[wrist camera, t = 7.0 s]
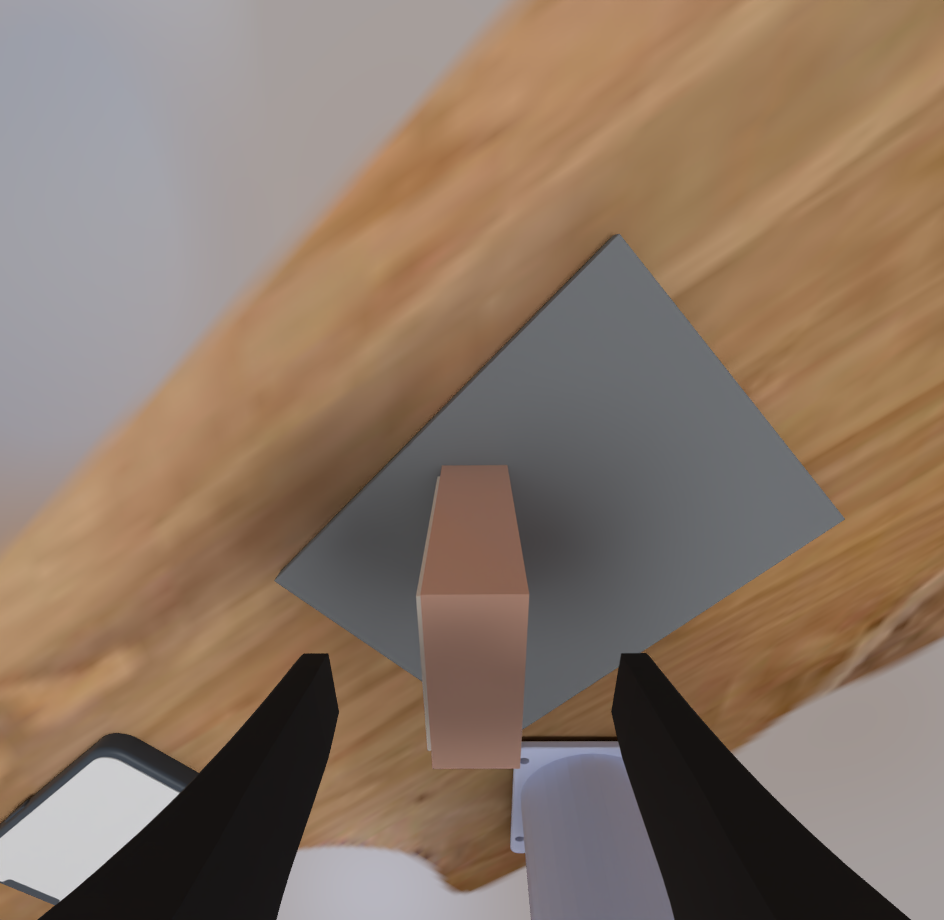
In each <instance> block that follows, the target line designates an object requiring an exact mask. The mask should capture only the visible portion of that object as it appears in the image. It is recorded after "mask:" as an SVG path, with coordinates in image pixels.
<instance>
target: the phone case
mask: <svg viewBox="0 0 944 920" xmlns="http://www.w3.org/2000/svg"><path fill="white" fill-rule="evenodd" d="M198 774H199V773H198V772H196V771H194V770H192V769H191V768H189V767H187V766H185V765H184V764H182V763H180V762H178V761H177V760H175V759H173V758H171V757H170V756H168V755H166V754H164V753H162V752H161V751H159V750H157V749H155V748H154V747H152V746H150V745H148V744H147V743H145V742H143V741H141V740H140V739H138V738H136V737H133V736H131V735H127V734H121V733H113V734H108V735H106V736H104V737H103V738H101V739H100V740H99V741H98V742H97V743H95V744H94V745H93V746H92V747H91V748H89V749H88V750H87V751H86V752H85V753H83V754H82V755H81V756H80V757H79V758H78V759H76V760H75V761H74V762H73V763H72V764H70V765H69V766H68V767H67V768H66V769H64V770H63V771H62V772H61V773H60V774H58V775H57V776H56V777H55V778H54V779H53V780H51V781H50V782H49V783H48V784H47V785H46V786H44V787H43V788H42V789H41V790H40V791H38V792H37V793H36V794H35V795H34V796H33V797H31V798H30V799H27V800H26V801H25V802H24V803H23V804H21V805H20V806H19V807H18V808H17V809H16V810H14V811H13V812H12V813H11V814H10V815H9V817H8V818H7V819H5V820H4V821H3V822H2V823H1V824H0V883H2V884H5V885H7V886H9V887H12V888H14V889H17V890H19V891H22V892H24V893H26V894H29V895H31V896H34V897H36V898H39V899H41V900H43V901H46V902H48V903H51V904H53V905H56V904H57V903H59V902H60V901H61V900H62V899H64V898H65V897H66V896H67V895H68V894H70V893H71V892H72V891H73V890H74V889H76V888H77V887H78V886H79V885H80V884H81V883H83V882H84V881H85V880H86V879H87V878H88V877H90V876H91V875H92V874H93V873H94V872H95V871H97V870H98V869H99V868H100V867H101V866H102V865H103V864H104V863H106V862H107V861H108V860H109V859H110V858H111V857H112V856H113V855H114V854H116V853H117V852H118V851H119V850H120V849H121V848H122V847H123V846H124V845H126V844H127V843H128V842H129V841H130V840H131V839H132V838H133V837H134V836H136V835H137V834H138V833H139V832H140V831H141V830H142V829H143V828H144V827H145V826H146V825H147V824H148V823H149V822H150V821H152V820H153V819H154V818H155V817H156V816H157V815H158V814H159V813H160V812H161V811H162V810H163V809H164V808H165V807H166V806H167V805H168V804H169V803H170V802H171V801H172V800H173V799H174V798H175V797H176V796H177V795H178V794H179V793H180V792H181V791H182V790H183V789H184V788H185V787H186V786H187V785H188V784H189V783H190V782H191V781H192V780H193V779H194V778H195V777H196V776H197V775H198Z"/></svg>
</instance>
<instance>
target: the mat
mask: <svg viewBox="0 0 944 920" xmlns="http://www.w3.org/2000/svg"><path fill="white" fill-rule="evenodd" d="M442 465H507V466H508V472H509V478H510V484H511V489H512V495H513V501H514V507H515V513H516V519H517V525H518V531H519V537H520V542H521V548H522V554H523V560H524V566H525V572H526V578H527V584H528V590H529V609H528V628H527V647H526V666H525V685H524V704H523V723H522V730H523V729H524V728H526V727H527V726H529V725H530V724H532V723H533V722H535V721H536V720H538V719H539V718H541V717H543V716H544V715H546V714H547V713H549V712H550V711H552V710H553V709H555V708H556V707H558V706H559V705H561V704H562V703H564V702H566V701H567V700H569V699H570V698H572V697H573V696H575V695H576V694H578V693H579V692H581V691H582V690H584V689H585V688H587V687H589V686H590V685H592V684H593V683H595V682H596V681H598V680H599V679H601V678H602V677H604V676H605V675H607V674H608V673H610V672H612V671H613V670H615V669H616V668H618V667H619V663H620V657H621V653H641V652H642V651H644V650H645V649H647V648H648V647H650V646H651V645H653V644H654V643H656V642H658V641H659V640H661V639H662V638H664V637H665V636H667V635H668V634H670V633H671V632H673V631H674V630H676V629H677V628H679V627H681V626H682V625H684V624H685V623H687V622H688V621H690V620H691V619H693V618H694V617H696V616H697V615H699V614H700V613H702V612H704V611H705V610H707V609H708V608H710V607H711V606H713V605H714V604H716V603H717V602H719V601H720V600H722V599H723V598H725V597H727V596H728V595H730V594H731V593H733V592H734V591H736V590H737V589H739V588H740V587H742V586H743V585H745V584H746V583H748V582H749V581H751V580H753V579H754V578H756V577H757V576H759V575H760V574H762V573H763V572H765V571H766V570H768V569H769V568H771V567H772V566H774V565H776V564H777V563H779V562H780V561H782V560H783V559H785V558H786V557H788V556H789V555H791V554H792V553H794V552H795V551H797V550H799V549H800V548H802V547H803V546H805V545H806V544H808V543H809V542H811V541H812V540H814V539H815V538H817V537H818V536H820V535H822V534H823V533H825V532H826V531H828V530H829V529H831V528H832V527H834V526H835V525H837V524H838V523H840V522H841V521H843V520H845V518H844V517H843V516H842V515H841V513H840V512H839V511H838V510H837V508H836V507H835V506H834V505H833V503H832V502H831V501H830V500H829V498H828V497H827V496H826V494H825V493H824V492H823V491H822V489H821V488H820V487H819V486H818V484H817V483H816V482H815V481H814V479H813V478H812V477H811V475H810V474H809V473H808V472H807V470H806V469H805V468H804V467H803V465H802V464H801V463H800V462H799V460H798V459H797V458H796V457H795V455H794V454H793V453H792V451H791V450H790V449H789V448H788V446H787V445H786V444H785V443H784V441H783V440H782V439H781V438H780V436H779V435H778V434H777V432H776V431H775V430H774V429H773V427H772V426H771V425H770V424H769V422H768V421H767V420H766V419H765V417H764V416H763V415H762V414H761V412H760V411H759V410H758V408H757V407H756V406H755V405H754V403H753V402H752V401H751V400H750V398H749V397H748V396H747V395H746V393H745V392H744V391H743V389H742V388H741V387H740V386H739V384H738V383H737V382H736V381H735V379H734V378H733V377H732V376H731V374H730V373H729V372H728V371H727V369H726V368H725V367H724V365H723V364H722V363H721V362H720V360H719V359H718V358H717V357H716V355H715V354H714V353H713V352H712V350H711V349H710V348H709V347H708V345H707V344H706V343H705V341H704V340H703V339H702V338H701V336H700V335H699V334H698V333H697V331H696V330H695V329H694V328H693V326H692V325H691V324H690V322H689V321H688V320H687V319H686V317H685V316H684V315H683V314H682V312H681V311H680V310H679V309H678V307H677V306H676V305H675V304H674V302H673V301H672V300H671V298H670V297H669V296H668V295H667V293H666V292H665V291H664V290H663V288H662V287H661V286H660V285H659V283H658V282H657V281H656V279H655V278H654V277H653V276H652V274H651V273H650V272H649V271H648V269H647V268H646V267H645V266H644V264H643V263H642V262H641V261H640V259H639V258H638V257H637V255H636V254H635V253H634V252H633V250H632V249H631V248H630V247H629V245H628V244H627V243H626V242H625V240H624V239H623V238H622V236H621V235H620V234H616V235H613V236H612V237H611V238H610V239H609V240H608V241H607V242H606V243H605V244H604V245H603V246H602V247H601V248H600V249H599V250H598V251H597V252H596V253H595V254H594V255H593V256H592V257H591V258H590V259H589V260H588V261H587V263H586V264H585V265H584V266H583V267H582V268H581V269H580V270H579V271H578V272H577V273H576V274H575V275H574V276H573V277H572V278H571V279H570V280H569V281H568V282H567V283H566V284H565V285H564V286H563V287H562V288H561V289H560V290H559V291H558V292H557V293H556V294H555V295H554V296H553V297H552V298H551V299H550V300H549V301H548V302H547V303H546V304H545V305H544V306H543V307H542V308H541V309H540V310H539V311H538V312H537V313H536V314H535V315H534V316H533V317H532V318H531V319H530V320H529V321H528V322H527V323H526V324H525V325H524V326H523V327H522V328H521V329H520V330H519V331H518V332H517V333H516V334H515V335H514V336H513V337H512V338H511V339H510V340H509V341H508V342H507V343H506V344H505V345H504V346H503V347H502V348H501V349H500V350H499V351H498V352H497V353H496V354H495V355H494V356H493V357H492V358H491V359H490V360H489V361H488V362H487V363H486V365H485V366H484V367H483V368H482V369H481V370H480V371H479V372H478V373H477V374H476V375H475V376H474V377H473V378H472V379H471V380H470V381H469V382H468V383H467V384H466V385H465V386H464V387H463V388H462V389H461V390H460V391H459V392H458V393H457V394H456V395H455V396H454V397H453V398H452V399H451V400H450V401H449V402H448V403H447V404H446V405H445V406H444V407H443V408H442V409H441V410H440V411H439V412H438V413H437V414H436V415H435V416H434V417H433V418H432V419H431V420H430V421H429V422H428V423H427V424H426V425H425V426H424V427H423V428H422V429H421V430H420V431H419V432H418V433H417V434H416V435H415V436H414V437H413V438H412V439H411V440H410V441H409V442H408V443H407V444H406V445H405V446H404V447H403V448H402V449H401V450H400V451H399V452H398V453H397V454H396V455H395V456H394V457H393V458H392V459H391V460H390V461H389V462H388V463H387V464H386V465H385V467H384V468H383V469H382V470H381V471H380V472H379V473H378V474H377V475H376V476H375V477H374V478H373V479H372V480H371V481H370V482H369V483H368V484H367V485H366V486H365V487H364V488H363V489H362V490H361V491H360V492H359V493H358V494H357V495H356V496H355V497H354V498H353V499H352V500H351V501H350V502H349V503H348V504H347V505H346V506H345V507H344V508H343V509H342V510H341V511H340V512H339V513H338V514H337V515H336V516H335V517H334V518H333V519H332V520H331V521H330V522H329V523H328V524H327V525H326V526H325V527H324V528H323V529H322V530H321V531H320V532H319V533H318V534H317V535H316V536H315V537H314V538H313V539H312V540H311V541H310V542H309V543H308V544H307V545H306V546H305V547H304V548H303V549H302V550H301V551H300V552H299V553H298V554H297V555H296V556H295V557H294V558H293V559H292V560H291V561H290V562H289V563H288V564H287V565H286V566H285V567H284V569H283V570H282V571H281V572H280V573H279V574H278V576H277V578H276V579H275V582H277V583H278V584H279V585H281V586H282V587H284V588H285V589H287V590H288V591H290V592H291V593H293V594H294V595H296V596H297V597H299V598H300V599H302V600H303V601H304V602H306V603H307V604H309V605H310V606H312V607H313V608H315V609H316V610H318V611H319V612H321V613H322V614H324V615H325V616H327V617H328V618H329V619H331V620H332V621H334V622H335V623H337V624H338V625H340V626H341V627H343V628H344V629H346V630H347V631H349V632H350V633H352V634H353V635H354V636H356V637H357V638H359V639H360V640H362V641H363V642H365V643H366V644H368V645H369V646H371V647H372V648H374V649H375V650H377V651H378V652H379V653H381V654H382V655H384V656H385V657H387V658H388V659H390V660H391V661H393V662H394V663H396V664H397V665H399V666H400V667H402V668H403V669H404V670H406V671H407V672H409V673H410V674H412V675H413V676H415V677H416V678H418V679H419V680H421V681H422V669H421V656H420V643H419V630H418V616H417V603H416V593H417V588H418V582H419V577H420V571H421V566H422V560H423V555H424V549H425V543H426V538H427V532H428V527H429V521H430V516H431V510H432V505H433V499H434V493H435V488H436V482H437V477H438V476H440V474H441V468H442Z"/></svg>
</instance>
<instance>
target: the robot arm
mask: <svg viewBox="0 0 944 920" xmlns="http://www.w3.org/2000/svg"><path fill="white" fill-rule="evenodd" d="M611 712H612V716H613V721H614V725H615V730H616V734H617V739H618V741H523V742H521V760H520V769H513V789H512V812H511V835H510V847H511V850H512V851H513V852H515V853H525V856H526V868H527V879H528V891H529V902H530V913H531V920H911V919H909V918H908V917H907V916H906V915H905V914H904V913H902V912H901V911H900V910H899V909H898V908H896V907H895V906H894V905H893V904H892V903H891V902H889V901H888V900H887V899H886V898H884V897H883V896H882V895H881V894H880V893H879V892H878V891H876V890H875V889H874V888H873V887H872V886H871V885H869V884H868V883H867V882H866V881H865V880H863V879H862V878H861V877H860V876H859V875H857V874H856V873H855V872H854V871H853V870H852V869H850V868H849V867H848V866H847V865H846V864H845V863H843V862H842V861H841V860H840V859H839V858H838V857H837V856H836V855H835V854H833V853H832V852H831V851H830V850H829V849H828V848H827V847H826V846H825V845H823V843H821V842H820V841H819V840H818V839H817V838H816V837H815V836H814V835H813V834H812V833H811V832H809V831H808V830H807V829H806V828H805V827H804V826H803V825H802V824H801V823H800V822H799V821H798V820H797V819H796V818H795V817H794V816H793V815H792V814H791V813H789V812H788V811H787V810H786V809H785V808H784V807H783V806H782V805H781V804H780V803H779V802H778V801H777V800H776V799H775V798H774V797H773V796H772V795H771V794H770V793H769V792H768V791H767V790H766V789H765V788H764V787H763V786H762V785H761V784H760V783H759V782H758V781H757V780H756V778H755V777H754V776H753V775H752V774H751V773H750V772H749V771H748V770H747V769H746V768H745V767H744V766H743V765H742V764H741V763H740V762H739V761H738V760H737V758H736V757H735V756H734V755H733V754H732V753H731V752H730V751H729V750H728V749H727V748H726V746H725V745H724V744H723V743H722V742H721V741H720V740H719V739H718V737H717V736H716V735H715V734H714V733H713V732H712V731H711V730H710V728H709V727H708V726H707V725H706V724H705V723H704V722H703V721H702V719H701V718H700V717H699V716H698V715H697V714H696V712H695V711H694V710H693V709H692V708H691V707H690V705H689V704H688V703H687V702H686V701H685V699H684V698H683V697H682V696H681V695H680V693H679V692H678V691H677V690H676V689H675V687H674V686H673V685H672V684H671V682H670V681H669V680H668V679H667V677H666V676H665V675H664V674H663V673H662V671H661V670H660V669H659V668H658V666H657V665H656V664H655V663H654V661H653V660H652V659H651V658H650V656H649V655H648V654H647V653H621V657H620V663H619V669H618V675H617V681H616V687H615V693H614V699H613V705H612V711H611ZM338 714H339V709H338V704H337V698H336V693H335V688H334V682H333V677H332V671H331V666H330V660H329V655H328V654H303V655H302V656H301V657H300V658H299V659H298V660H297V661H296V663H295V664H294V665H293V666H292V667H291V669H290V670H289V671H288V672H287V674H286V675H285V676H284V677H283V679H282V680H281V681H280V682H279V683H278V685H277V686H276V687H275V688H274V690H273V691H272V692H271V693H270V694H269V696H268V697H267V698H266V699H265V700H264V701H263V703H262V704H261V705H260V706H259V707H258V709H257V710H256V711H255V712H254V713H253V714H252V715H251V717H250V718H249V719H248V720H247V721H246V722H245V724H244V725H243V726H242V727H241V728H240V729H239V730H238V732H237V733H236V734H235V735H234V736H233V737H232V738H231V740H230V741H229V742H228V743H227V744H226V745H225V746H224V747H223V748H222V749H221V750H220V751H219V753H218V754H217V755H216V756H215V757H214V758H213V759H212V760H211V761H210V762H209V763H208V764H207V765H206V766H205V767H204V769H203V770H202V771H201V772H200V773H199V774H198V775H197V776H196V777H195V778H194V779H193V780H192V781H191V782H190V783H189V784H188V785H187V786H186V787H185V788H184V789H183V790H182V791H181V792H180V793H179V794H178V795H177V796H176V797H175V798H174V799H173V800H172V801H171V802H170V803H169V804H168V805H167V806H166V807H165V808H164V809H163V810H162V811H161V812H160V813H159V814H158V815H157V816H156V817H155V818H154V819H153V820H152V821H150V822H149V823H148V824H147V825H146V826H145V827H144V828H143V829H142V830H141V831H140V832H139V833H138V834H137V835H136V836H134V837H133V838H132V839H131V840H130V841H129V842H128V843H127V844H126V845H124V846H123V847H122V848H121V849H120V850H119V851H118V852H117V853H116V854H114V855H113V856H112V857H111V858H110V859H109V860H108V861H107V862H106V863H104V864H103V865H102V866H101V867H100V868H99V869H98V870H97V871H95V872H94V873H93V874H92V875H91V876H90V877H88V878H87V879H86V880H85V881H84V882H83V883H81V884H80V885H79V886H78V887H77V888H76V889H74V890H73V891H72V892H71V893H70V894H68V895H67V896H66V897H65V898H64V899H62V900H61V901H60V902H59V903H57V904H56V905H55V906H54V907H52V908H51V909H50V910H49V911H48V912H46V913H45V914H44V915H43V916H41V917H40V918H39V919H38V920H276V919H277V915H278V912H279V908H280V904H281V900H282V897H283V893H284V890H285V887H286V884H287V880H288V877H289V874H290V871H291V868H292V864H293V862H294V859H295V856H296V853H297V850H298V847H299V844H300V841H301V838H302V835H303V832H304V829H305V826H306V823H307V821H308V818H309V815H310V812H311V809H312V806H313V803H314V800H315V797H316V794H317V791H318V788H319V785H320V782H321V779H322V776H323V773H324V770H325V767H326V764H327V761H328V758H329V753H330V749H331V745H332V741H333V736H334V732H335V727H336V723H337V718H338Z"/></svg>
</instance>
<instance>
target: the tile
mask: <svg viewBox="0 0 944 920" xmlns="http://www.w3.org/2000/svg"><path fill="white" fill-rule="evenodd" d="M416 603H417V616H418V630H419V643H420V656H421V669H422V683H423V696H424V709H425V722H426V735H427V749H428V751H431V754H432V768H433V769H520V760H521V742H522V723H523V704H524V685H525V666H526V647H527V628H528V609H529V590H528V584H527V578H526V572H525V566H524V560H523V554H522V548H521V542H520V537H519V531H518V525H517V519H516V513H515V507H514V501H513V495H512V489H511V484H510V478H509V472H508V466H507V465H442V468H441V474H440V476H438V477H437V482H436V488H435V493H434V499H433V505H432V510H431V516H430V521H429V527H428V532H427V538H426V543H425V549H424V555H423V560H422V566H421V571H420V577H419V582H418V588H417V593H416Z"/></svg>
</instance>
